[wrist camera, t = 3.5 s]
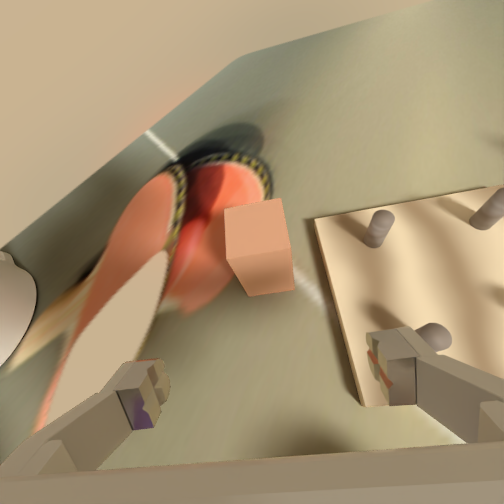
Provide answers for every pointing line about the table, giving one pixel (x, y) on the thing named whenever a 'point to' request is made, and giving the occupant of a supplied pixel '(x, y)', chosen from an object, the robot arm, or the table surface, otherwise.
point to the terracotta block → (259, 247)
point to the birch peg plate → (420, 278)
